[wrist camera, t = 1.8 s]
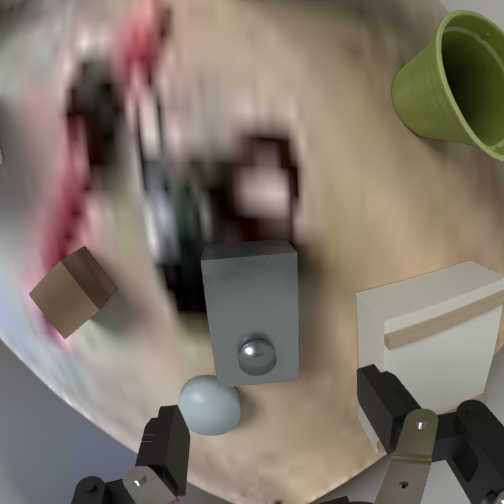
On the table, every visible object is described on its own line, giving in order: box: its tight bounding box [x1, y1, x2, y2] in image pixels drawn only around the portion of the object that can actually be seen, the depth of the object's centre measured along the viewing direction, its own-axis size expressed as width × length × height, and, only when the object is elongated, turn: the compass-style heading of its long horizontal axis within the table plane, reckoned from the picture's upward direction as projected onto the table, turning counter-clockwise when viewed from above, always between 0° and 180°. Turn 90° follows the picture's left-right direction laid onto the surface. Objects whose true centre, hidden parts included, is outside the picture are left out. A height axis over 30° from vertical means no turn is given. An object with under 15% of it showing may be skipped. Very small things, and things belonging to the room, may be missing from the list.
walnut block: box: [29, 246, 118, 339], centre depth 20 cm, size 4×4×4 cm
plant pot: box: [391, 10, 504, 161], centre depth 16 cm, size 9×9×9 cm
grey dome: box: [178, 375, 241, 435], centre depth 24 cm, size 5×5×2 cm
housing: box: [201, 239, 299, 387], centre depth 21 cm, size 9×6×5 cm, turn 4°
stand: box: [356, 261, 504, 453], centre depth 22 cm, size 14×12×6 cm
